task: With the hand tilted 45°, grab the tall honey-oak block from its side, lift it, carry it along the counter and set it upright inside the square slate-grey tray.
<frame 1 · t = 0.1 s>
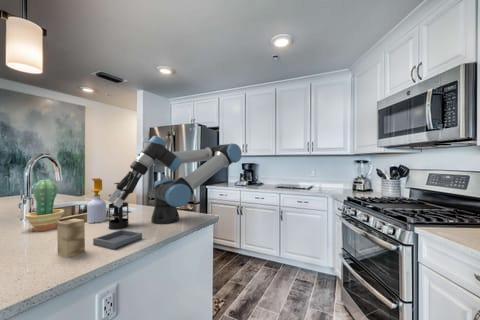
hand: (113, 204, 98), 15 cm above the counter, tool tilted 35°, fingers open, 13 cm apart
oak block: (71, 253, 83), on the counter
slate tray: (118, 241, 94), on the counter
soap bottle: (96, 221, 126), on the counter
potted cactus: (45, 228, 115), on the counter
french press: (118, 227, 116), on the counter
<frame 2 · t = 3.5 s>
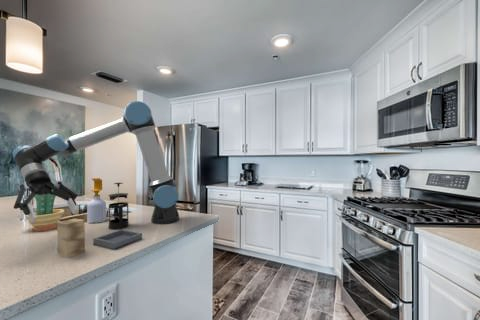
hand: (56, 216, 86), 13 cm above the counter, tool tilted 45°, fingers open, 13 cm apart
nothing on the counter moved.
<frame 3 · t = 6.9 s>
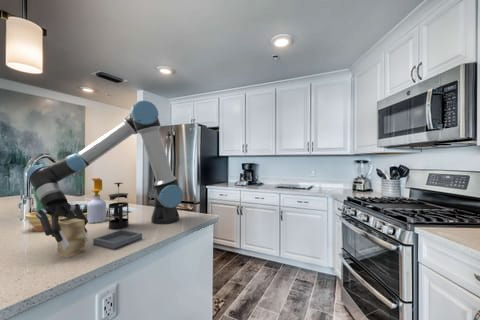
hand: (77, 244, 82), 4 cm above the counter, tool tilted 45°, fingers closed on oak block, 6 cm apart
oak block: (71, 253, 83), on the counter, touching gripper
everything else where it was.
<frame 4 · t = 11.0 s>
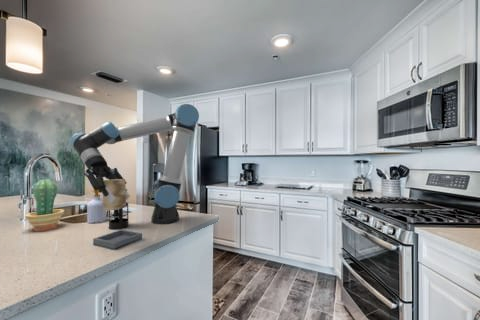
hand: (120, 199, 92), 18 cm above the counter, tool tilted 45°, fingers closed on oak block, 6 cm apart
oak block: (114, 208, 93), point 14 cm above the counter, touching gripper
everything else where it was.
when the fingers open (6 cm above the counter, at t = 14.9 s): oak block drops 1 cm, resting on slate tray.
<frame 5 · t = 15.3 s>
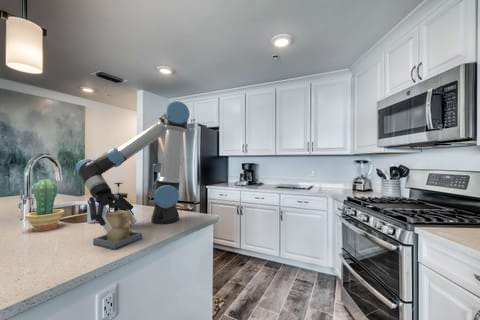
hand: (122, 226, 93), 7 cm above the counter, tool tilted 45°, fingers open, 11 cm apart
oak block: (118, 240, 94), point 1 cm above the counter, touching slate tray
everything else where it was.
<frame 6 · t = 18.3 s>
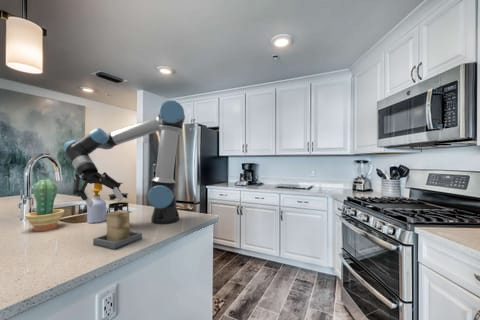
hand: (107, 202, 97), 16 cm above the counter, tool tilted 45°, fingers open, 13 cm apart
nothing on the counter moved.
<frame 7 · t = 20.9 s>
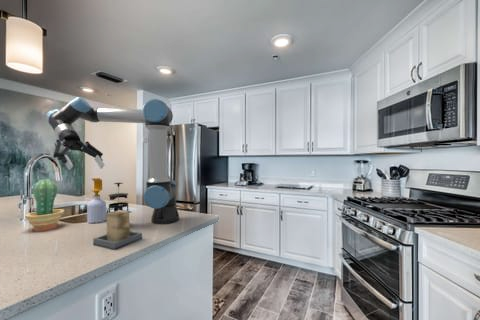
hand: (87, 167, 100), 32 cm above the counter, tool tilted 45°, fingers open, 13 cm apart
nothing on the counter moved.
at the end: oak block 0.1 cm off-centre on the slate tray, point 0.6 cm above the slate tray's base; oak block tilted 0°; the gripper is holding nothing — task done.
